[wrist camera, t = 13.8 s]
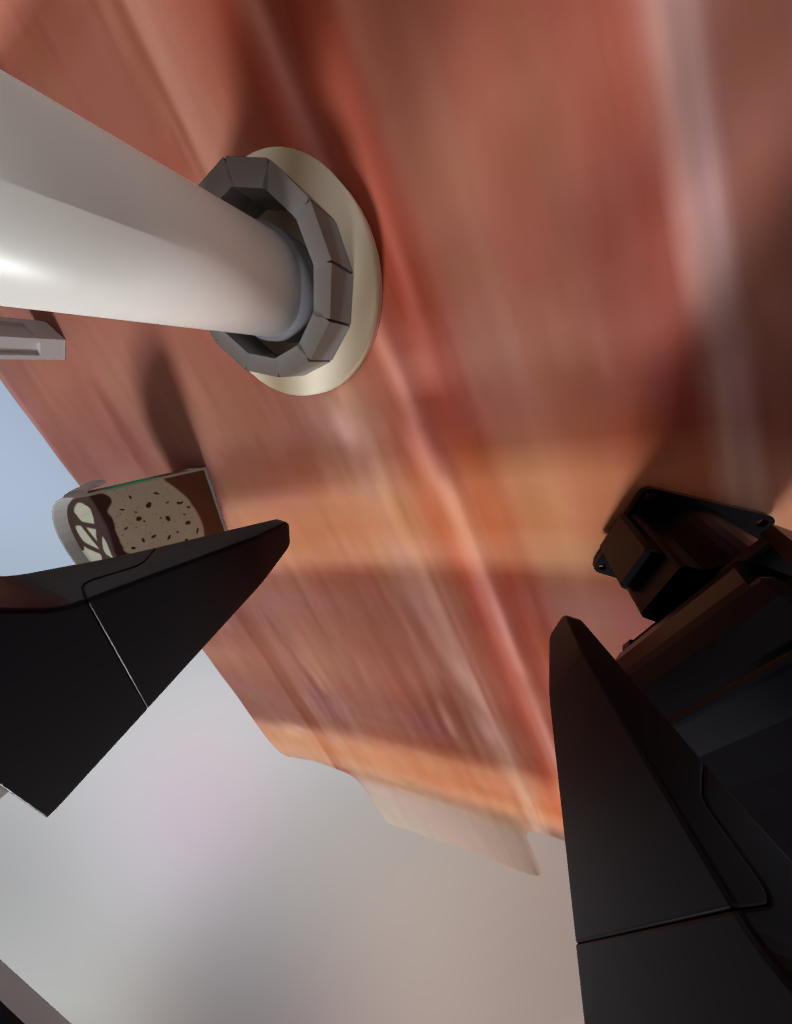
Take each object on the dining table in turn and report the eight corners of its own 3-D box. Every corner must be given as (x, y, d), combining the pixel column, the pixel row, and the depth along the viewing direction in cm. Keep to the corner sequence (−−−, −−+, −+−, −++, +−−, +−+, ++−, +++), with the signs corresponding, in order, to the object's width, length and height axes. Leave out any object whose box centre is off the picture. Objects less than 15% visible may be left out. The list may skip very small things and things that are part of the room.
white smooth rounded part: (325, 238, 16) (-198, -136, 4) (323, 349, 18) (7, 323, 7) (244, 230, 17) (-357, -83, 5) (253, 336, 20) (-127, 293, 8)
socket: (396, 164, 14) (367, 109, 11) (371, 409, 20) (347, 417, 17) (206, 157, 17) (138, 110, 14) (233, 378, 23) (191, 380, 20)
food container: (156, 447, 29) (16, 481, 21) (201, 451, 28) (69, 490, 19) (195, 547, 35) (98, 605, 27) (235, 556, 33) (145, 621, 25)
